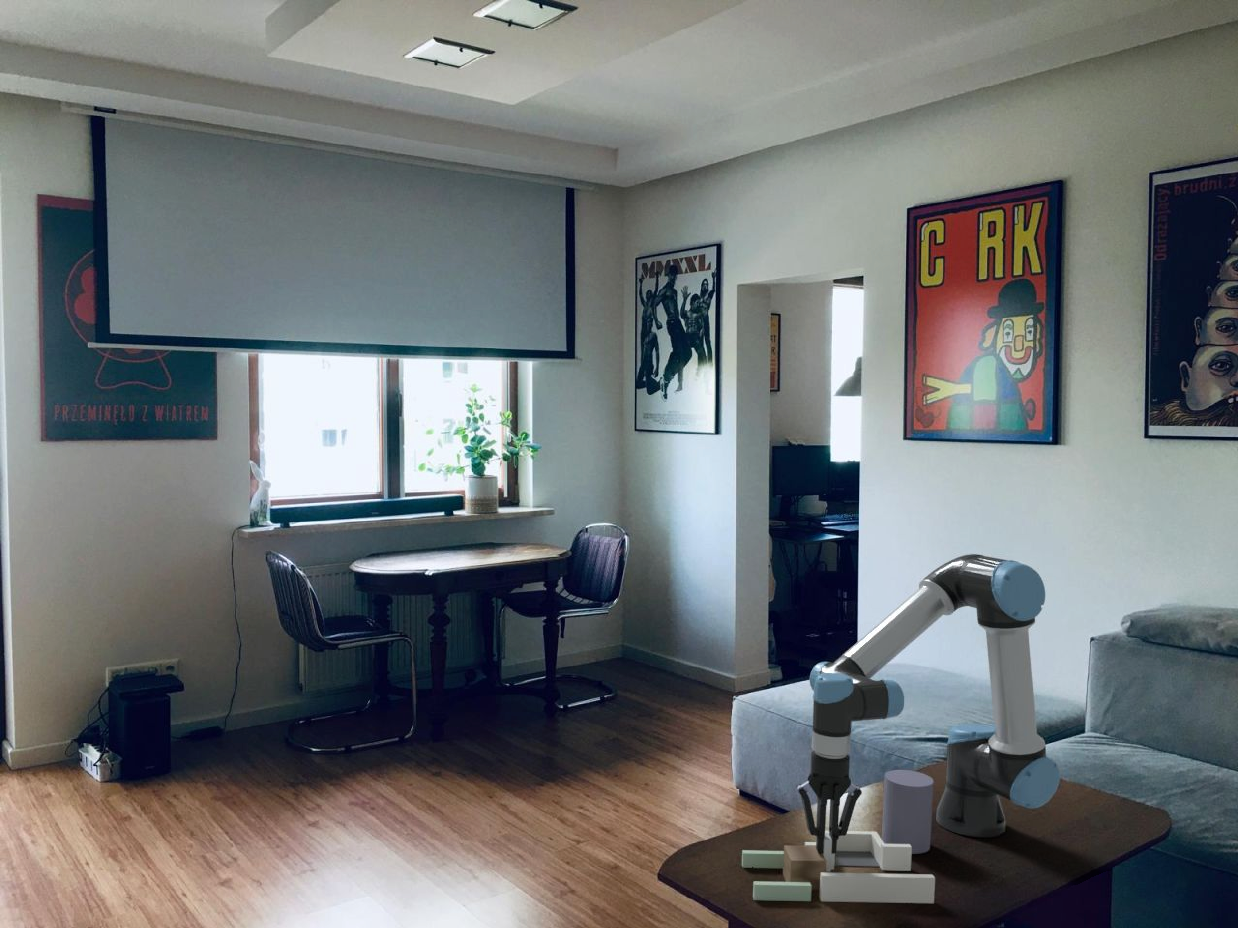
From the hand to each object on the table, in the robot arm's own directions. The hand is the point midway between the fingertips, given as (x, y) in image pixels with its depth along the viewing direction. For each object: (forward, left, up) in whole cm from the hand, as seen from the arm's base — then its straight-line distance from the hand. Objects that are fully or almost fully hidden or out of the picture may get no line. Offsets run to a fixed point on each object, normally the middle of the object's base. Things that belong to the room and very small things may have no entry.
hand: (825, 868), depth 204 cm
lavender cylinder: (-22, -19, -3) cm, 30 cm away
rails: (+10, 0, -3) cm, 10 cm away
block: (+4, 0, -3) cm, 5 cm away
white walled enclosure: (-8, -4, -3) cm, 10 cm away
